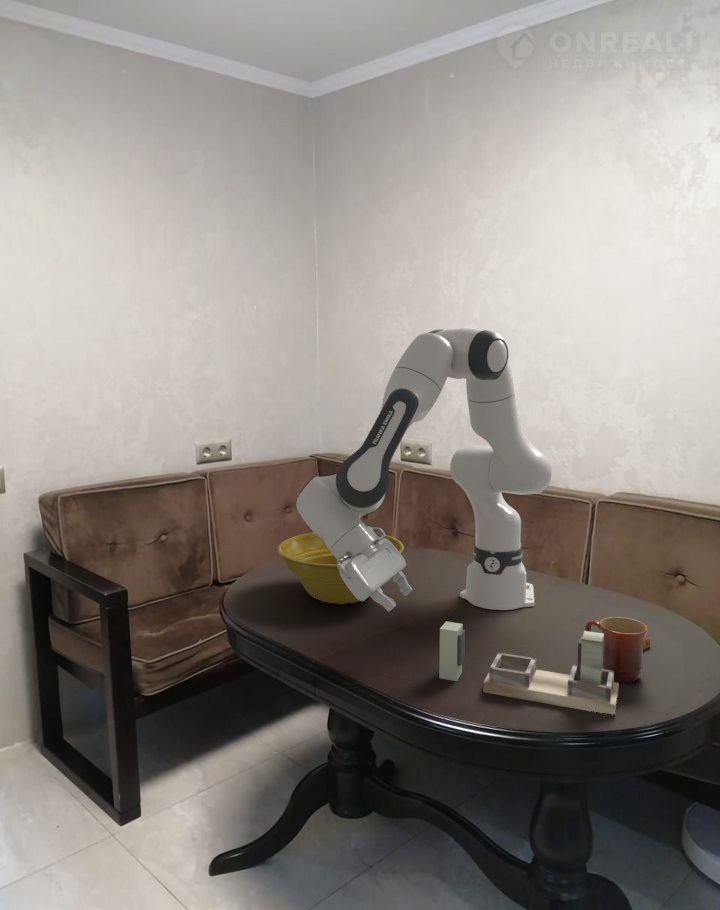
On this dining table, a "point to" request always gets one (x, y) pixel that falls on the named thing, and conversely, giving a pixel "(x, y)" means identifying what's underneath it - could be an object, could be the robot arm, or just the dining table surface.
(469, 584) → the robot arm
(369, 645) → the dining table surface
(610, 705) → the cream peg holder
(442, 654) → the block
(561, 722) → the dining table surface
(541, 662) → the dining table surface
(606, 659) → the mug
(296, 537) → the planter bowl
